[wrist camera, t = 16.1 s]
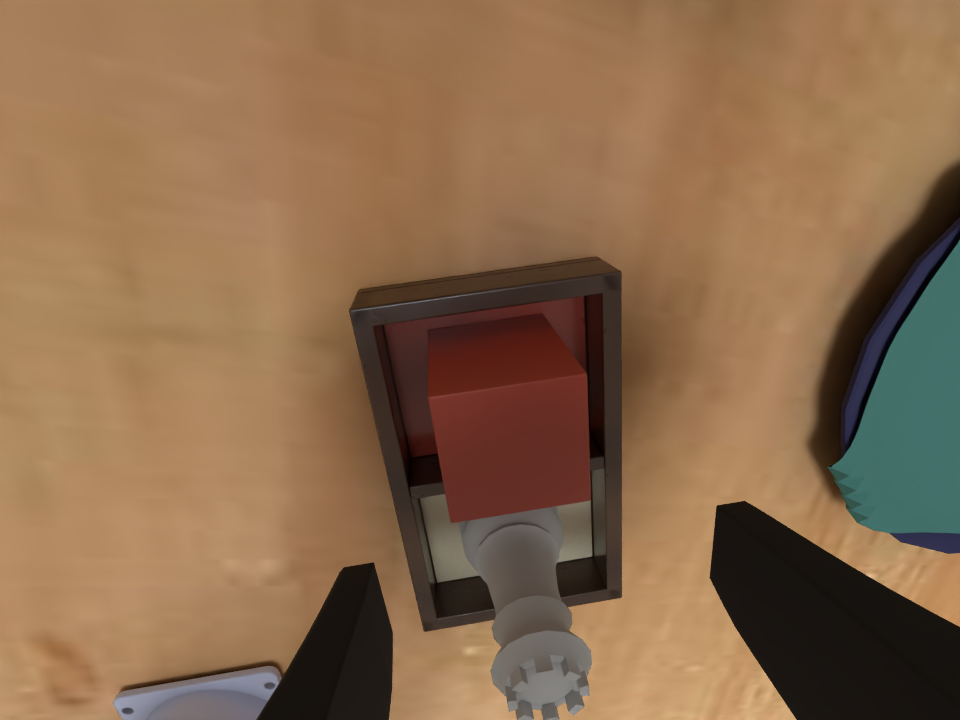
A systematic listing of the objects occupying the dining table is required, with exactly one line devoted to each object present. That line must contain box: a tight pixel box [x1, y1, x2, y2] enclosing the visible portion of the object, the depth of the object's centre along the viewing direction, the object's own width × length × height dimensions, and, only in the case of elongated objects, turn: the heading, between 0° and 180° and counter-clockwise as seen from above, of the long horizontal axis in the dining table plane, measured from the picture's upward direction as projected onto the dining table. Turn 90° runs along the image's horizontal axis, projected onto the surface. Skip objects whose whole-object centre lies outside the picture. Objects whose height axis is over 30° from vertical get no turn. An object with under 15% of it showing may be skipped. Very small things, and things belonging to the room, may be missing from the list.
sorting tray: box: [349, 257, 622, 632], centre depth 20 cm, size 15×9×2 cm, turn 7°
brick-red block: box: [428, 314, 591, 523], centre depth 17 cm, size 4×4×6 cm
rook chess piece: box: [459, 506, 592, 720], centre depth 18 cm, size 4×4×8 cm
